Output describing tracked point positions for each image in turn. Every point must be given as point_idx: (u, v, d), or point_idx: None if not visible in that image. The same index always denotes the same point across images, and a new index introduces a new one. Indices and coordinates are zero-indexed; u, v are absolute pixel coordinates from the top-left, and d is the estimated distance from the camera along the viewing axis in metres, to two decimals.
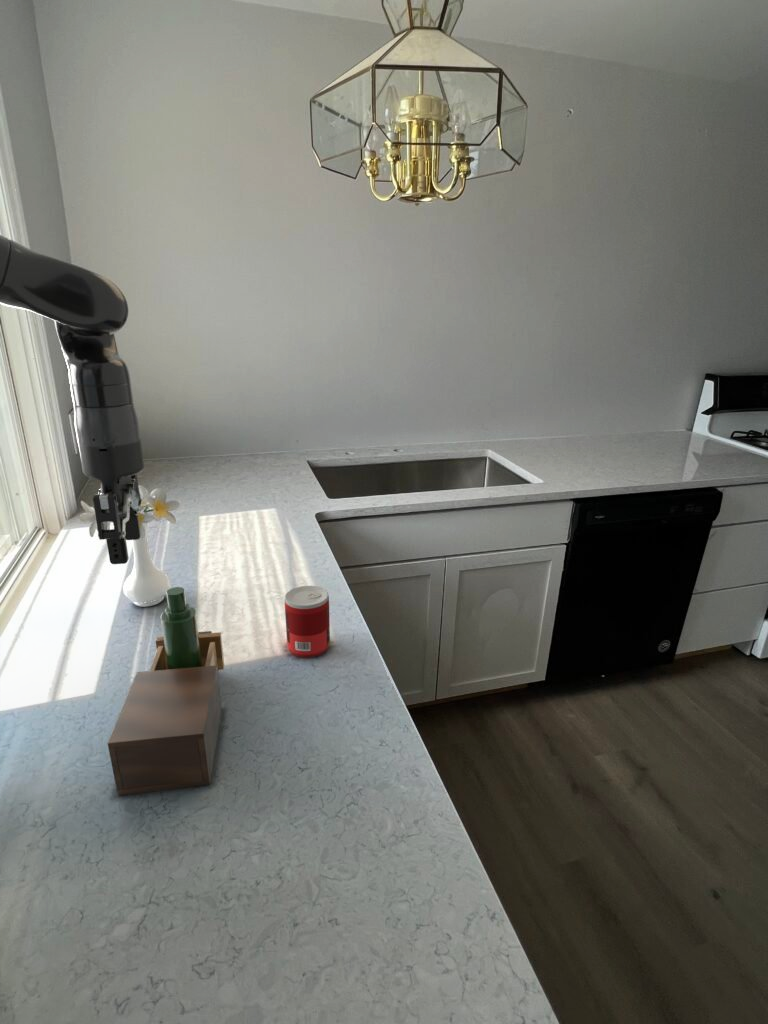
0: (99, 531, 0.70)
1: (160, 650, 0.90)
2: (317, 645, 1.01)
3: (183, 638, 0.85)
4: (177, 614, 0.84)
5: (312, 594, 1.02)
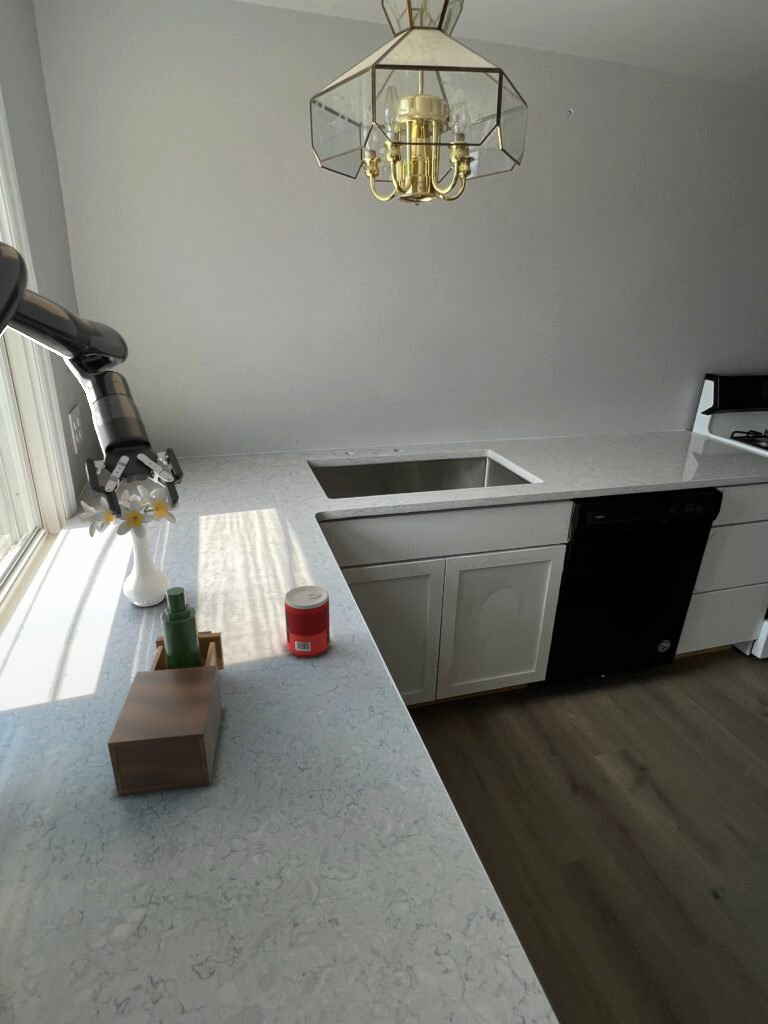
0: (181, 470, 0.95)
1: (160, 650, 0.90)
2: (317, 645, 1.01)
3: (183, 638, 0.85)
4: (177, 614, 0.84)
5: (312, 594, 1.02)
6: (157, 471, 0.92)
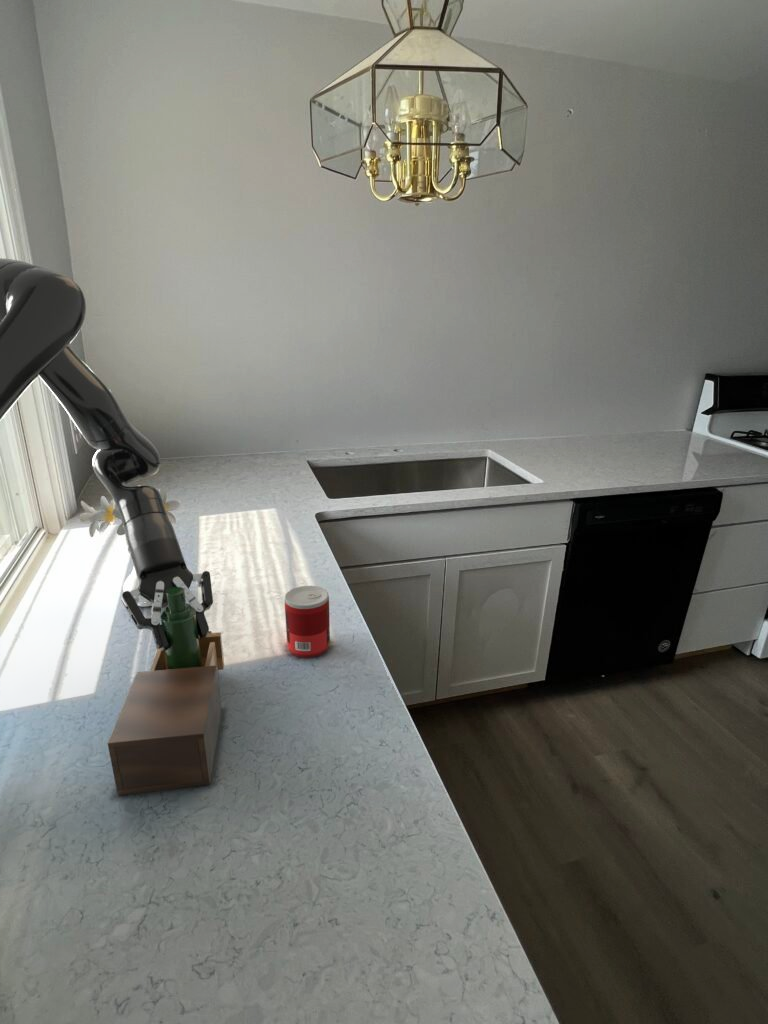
0: None
1: (160, 650, 0.90)
2: (317, 645, 1.01)
3: (183, 638, 0.85)
4: (177, 614, 0.84)
5: (312, 594, 1.02)
6: (188, 598, 0.88)
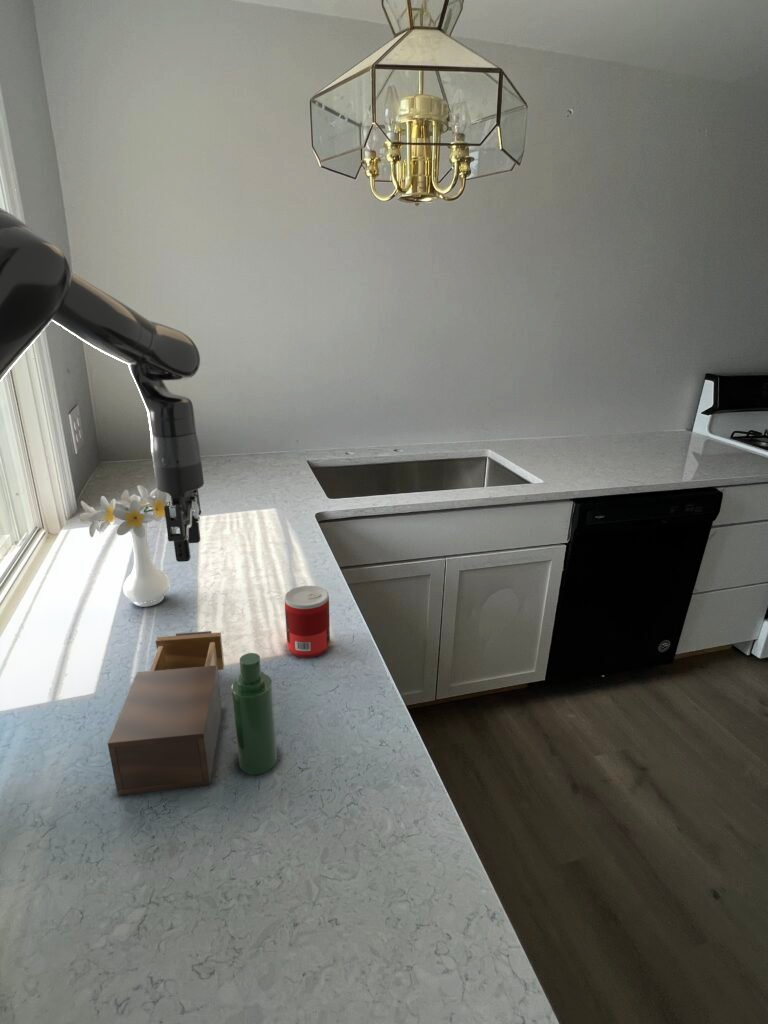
0: (199, 507, 1.02)
1: (160, 650, 0.90)
2: (317, 645, 1.01)
3: (258, 714, 0.73)
4: (252, 686, 0.72)
5: (312, 594, 1.02)
6: (198, 513, 0.98)
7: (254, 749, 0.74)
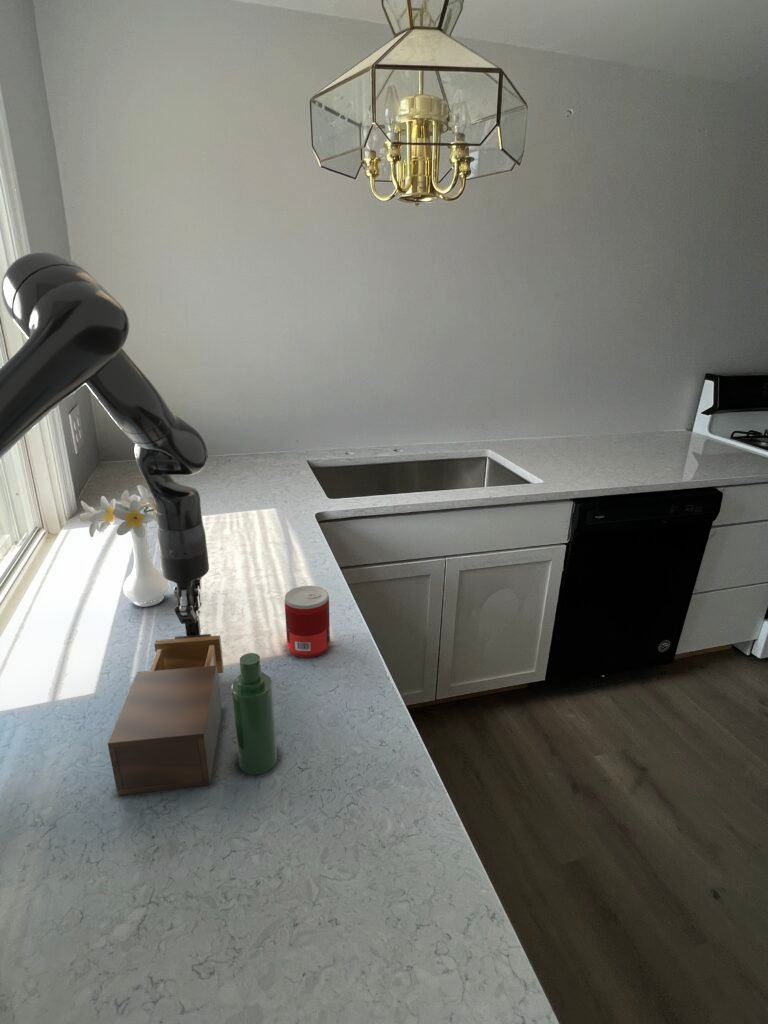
0: None
1: (159, 653, 0.89)
2: (317, 645, 1.01)
3: (258, 714, 0.73)
4: (252, 686, 0.72)
5: (312, 594, 1.02)
6: (200, 601, 0.98)
7: (254, 749, 0.74)
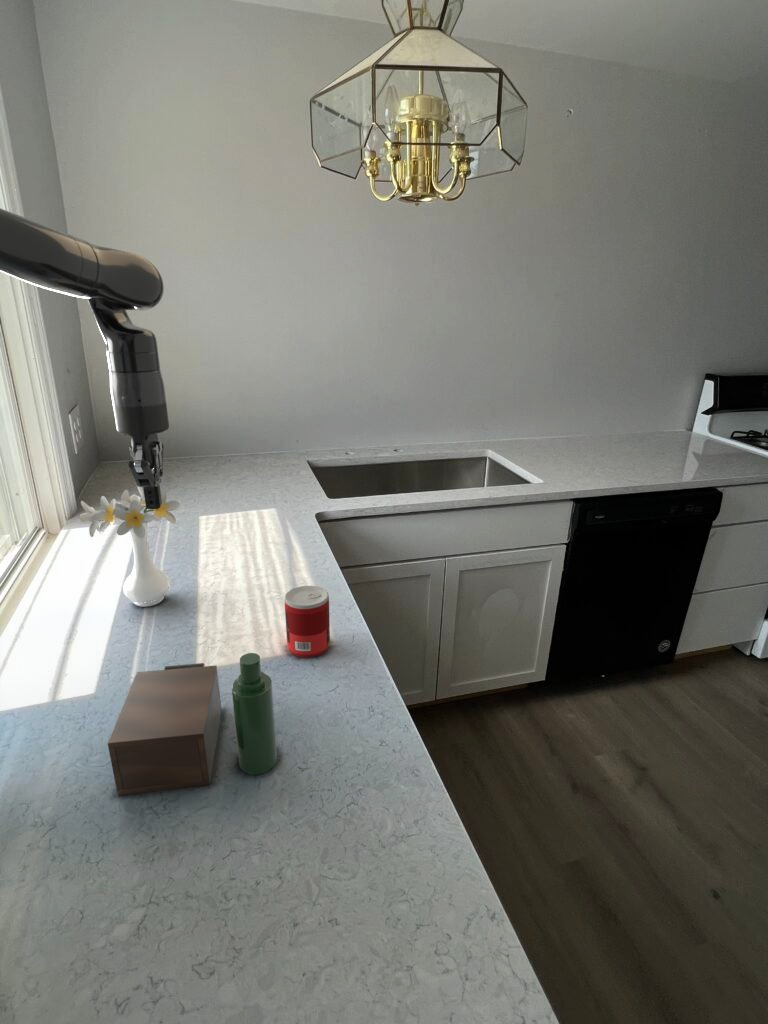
0: None
1: None
2: (317, 645, 1.01)
3: (258, 714, 0.73)
4: (252, 686, 0.72)
5: (312, 594, 1.02)
6: (160, 467, 0.89)
7: (254, 749, 0.74)
